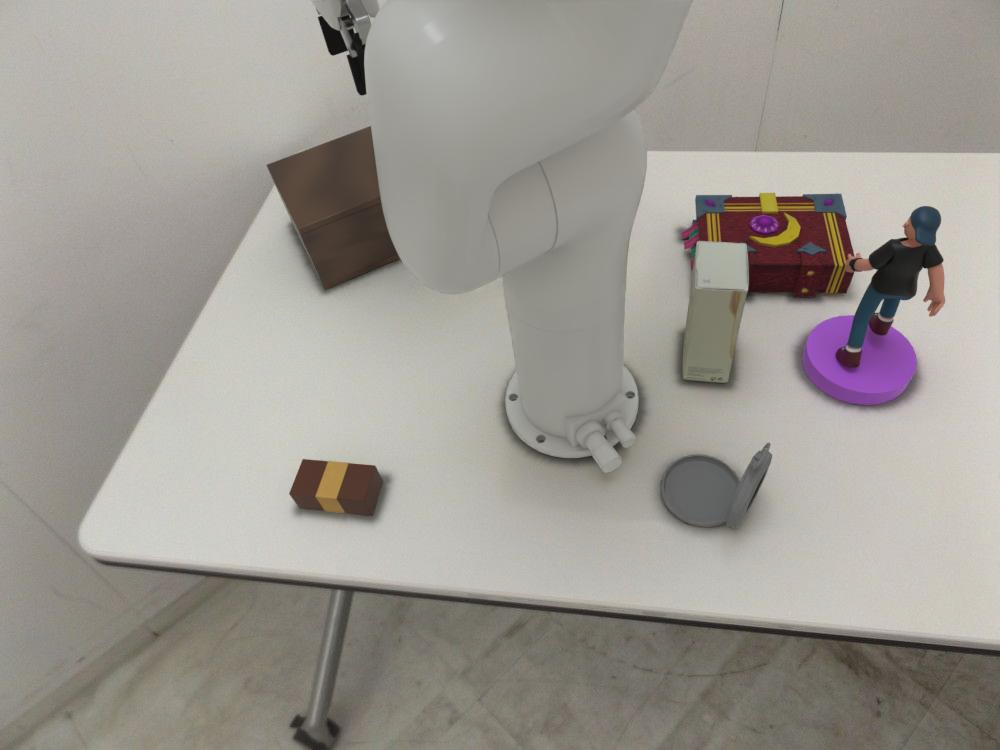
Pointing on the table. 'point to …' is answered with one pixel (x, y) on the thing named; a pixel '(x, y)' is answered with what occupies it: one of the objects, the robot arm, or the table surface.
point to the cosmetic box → (715, 310)
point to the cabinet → (336, 206)
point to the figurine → (878, 319)
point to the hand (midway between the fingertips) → (358, 69)
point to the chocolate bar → (336, 487)
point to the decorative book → (780, 239)
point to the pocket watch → (713, 489)
